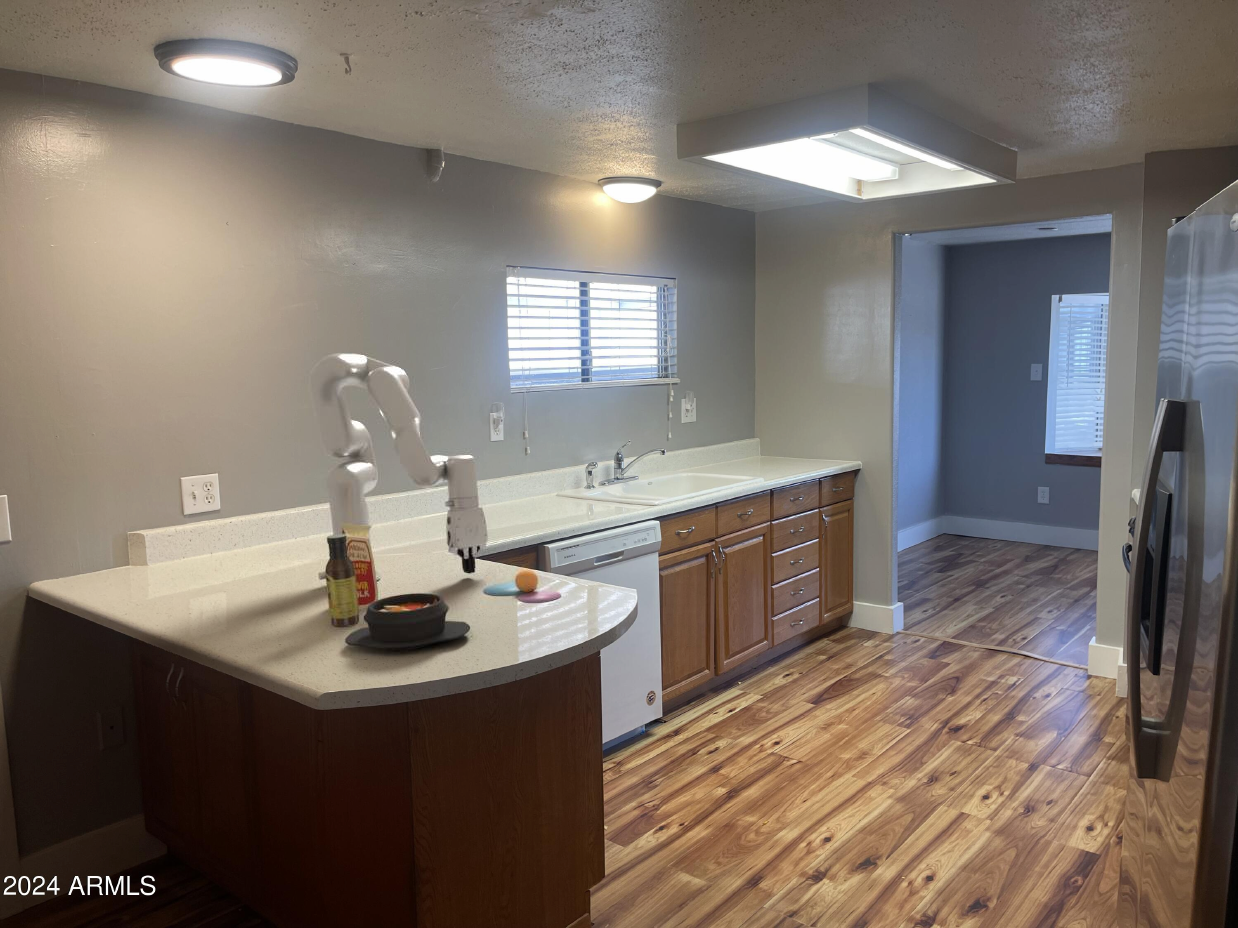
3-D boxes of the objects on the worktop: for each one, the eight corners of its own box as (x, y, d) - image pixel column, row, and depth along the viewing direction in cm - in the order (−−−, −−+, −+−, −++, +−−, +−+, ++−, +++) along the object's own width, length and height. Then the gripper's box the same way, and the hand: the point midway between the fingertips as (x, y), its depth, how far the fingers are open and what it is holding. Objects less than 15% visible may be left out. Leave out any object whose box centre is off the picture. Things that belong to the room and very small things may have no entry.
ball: (513, 567, 221) (508, 585, 224) (526, 580, 218) (521, 598, 221) (531, 562, 225) (526, 580, 228) (544, 575, 222) (539, 593, 224)
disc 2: (534, 604, 211) (534, 604, 211) (510, 597, 218) (510, 597, 218) (569, 595, 217) (569, 595, 217) (544, 589, 225) (544, 588, 225)
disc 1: (502, 598, 218) (502, 597, 218) (473, 590, 228) (473, 589, 228) (547, 587, 226) (547, 586, 226) (517, 579, 236) (517, 579, 236)
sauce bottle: (335, 620, 207) (327, 533, 205) (363, 618, 207) (355, 531, 205) (326, 628, 201) (317, 538, 198) (355, 627, 201) (346, 537, 198)
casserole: (476, 625, 197) (473, 587, 196) (463, 653, 178) (460, 610, 178) (359, 632, 197) (355, 594, 196) (334, 660, 178) (330, 618, 177)
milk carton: (344, 611, 215) (336, 526, 213) (337, 603, 223) (329, 521, 221) (383, 604, 219) (376, 521, 217) (374, 596, 227) (367, 516, 225)
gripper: (445, 508, 232) (451, 580, 234) (496, 500, 241) (501, 568, 243) (431, 506, 237) (436, 575, 239) (480, 498, 247) (485, 565, 249)
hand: (469, 572), depth 241 cm, fingers closed
